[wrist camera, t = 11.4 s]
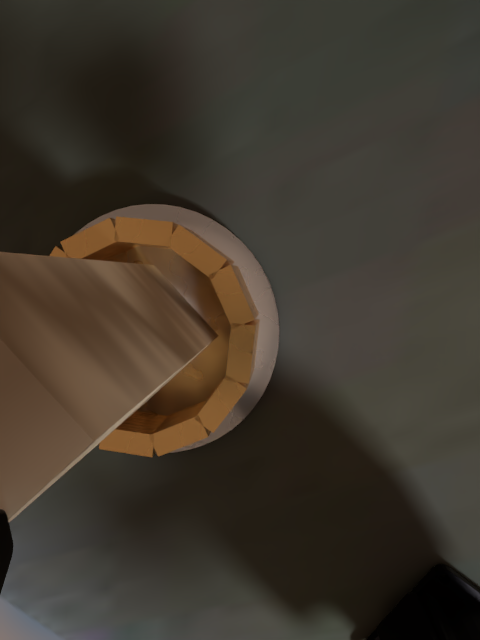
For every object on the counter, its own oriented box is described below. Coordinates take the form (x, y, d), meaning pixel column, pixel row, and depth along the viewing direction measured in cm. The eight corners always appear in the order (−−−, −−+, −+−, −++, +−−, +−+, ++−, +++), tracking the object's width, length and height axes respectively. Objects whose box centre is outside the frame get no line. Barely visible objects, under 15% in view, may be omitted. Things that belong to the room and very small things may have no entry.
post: (218, 335, 20) (93, 440, 7) (151, 396, 21) (-72, 592, 8) (154, 265, 20) (-86, 244, 7) (89, 328, 21) (-236, 413, 8)
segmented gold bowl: (330, 304, 20) (338, 310, 17) (187, 490, 22) (168, 530, 19) (130, 157, 21) (98, 133, 17) (5, 351, 22) (-47, 365, 19)
